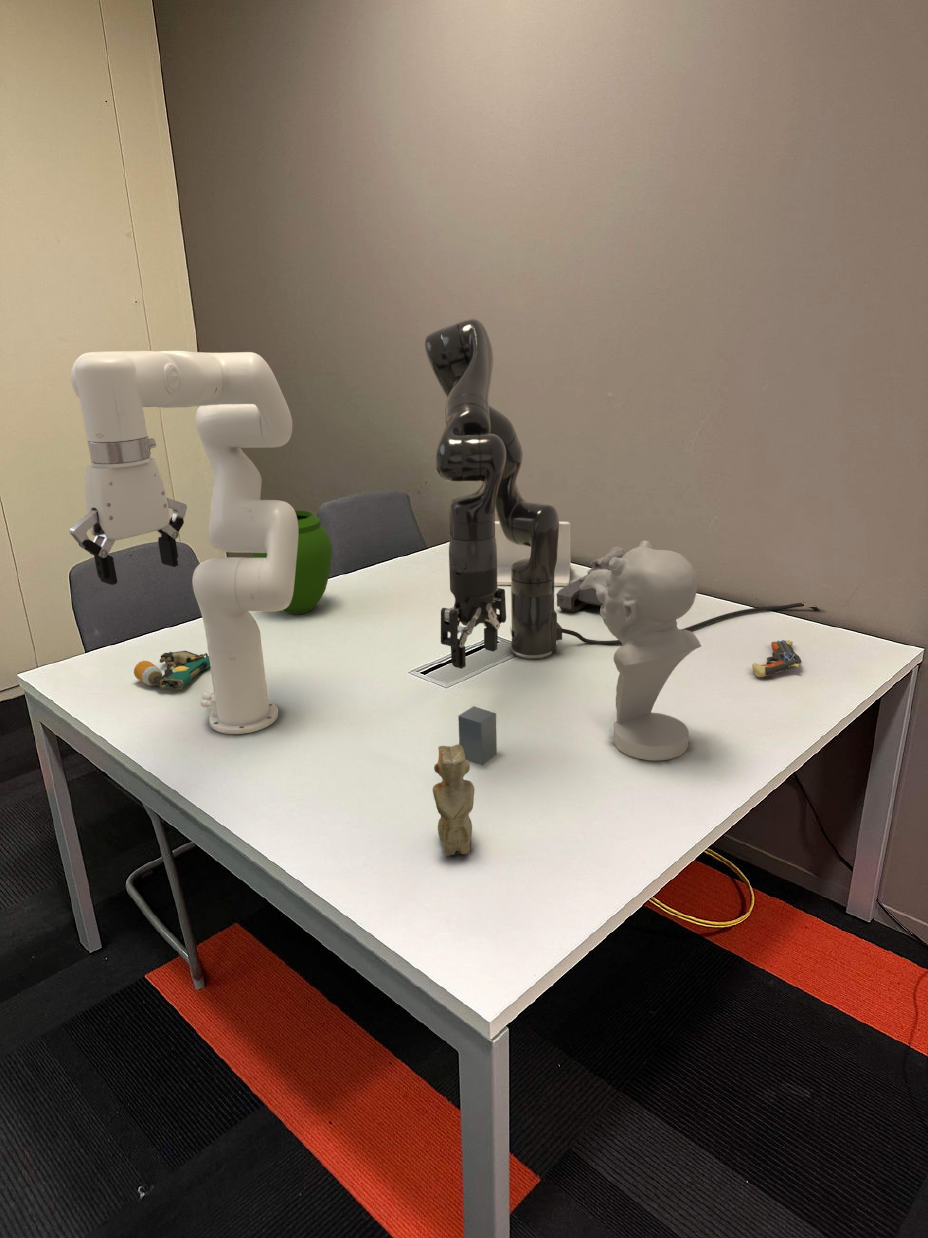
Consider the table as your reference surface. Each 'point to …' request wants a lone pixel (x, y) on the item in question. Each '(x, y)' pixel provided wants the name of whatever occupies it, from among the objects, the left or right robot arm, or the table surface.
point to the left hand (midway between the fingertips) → (140, 573)
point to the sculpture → (454, 800)
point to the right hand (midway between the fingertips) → (475, 658)
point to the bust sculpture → (646, 643)
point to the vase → (309, 564)
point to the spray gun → (172, 669)
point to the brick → (478, 735)
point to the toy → (576, 598)
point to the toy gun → (778, 659)
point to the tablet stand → (514, 552)
